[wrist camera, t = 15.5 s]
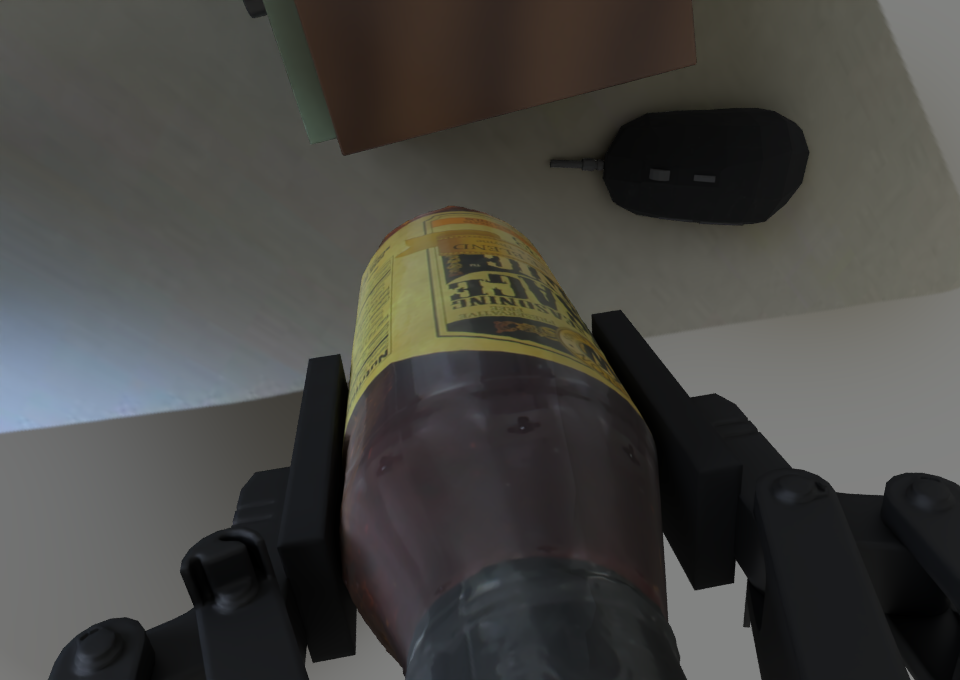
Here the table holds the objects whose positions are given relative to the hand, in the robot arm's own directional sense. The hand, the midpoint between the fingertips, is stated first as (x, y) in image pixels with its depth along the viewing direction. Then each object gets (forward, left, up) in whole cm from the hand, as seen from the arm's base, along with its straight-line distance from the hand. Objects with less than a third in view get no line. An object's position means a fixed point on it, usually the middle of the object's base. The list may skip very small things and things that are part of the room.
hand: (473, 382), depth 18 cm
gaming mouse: (+15, -2, -24) cm, 28 cm away
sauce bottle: (0, 0, -7) cm, 7 cm away
